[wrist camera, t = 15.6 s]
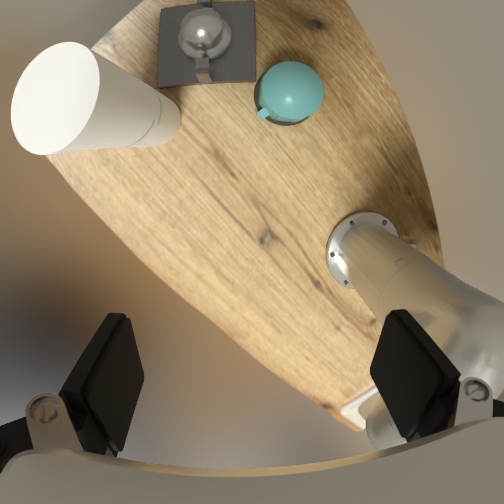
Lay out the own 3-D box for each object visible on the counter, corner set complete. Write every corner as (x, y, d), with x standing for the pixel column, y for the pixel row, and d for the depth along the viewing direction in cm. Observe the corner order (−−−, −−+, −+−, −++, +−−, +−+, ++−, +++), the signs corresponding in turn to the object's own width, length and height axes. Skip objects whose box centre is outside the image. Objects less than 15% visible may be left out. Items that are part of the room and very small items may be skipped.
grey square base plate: (162, 12, 29) (150, -9, 22) (253, 5, 30) (256, -18, 23) (159, 88, 34) (144, 78, 27) (255, 82, 34) (259, 69, 28)
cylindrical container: (122, 131, 35) (-2, 129, 12) (149, 88, 33) (46, 31, 10) (162, 155, 37) (63, 175, 14) (191, 111, 35) (123, 62, 12)
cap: (294, 57, 32) (302, 46, 28) (329, 97, 35) (342, 91, 30) (240, 97, 34) (241, 90, 30) (277, 138, 36) (283, 136, 32)
